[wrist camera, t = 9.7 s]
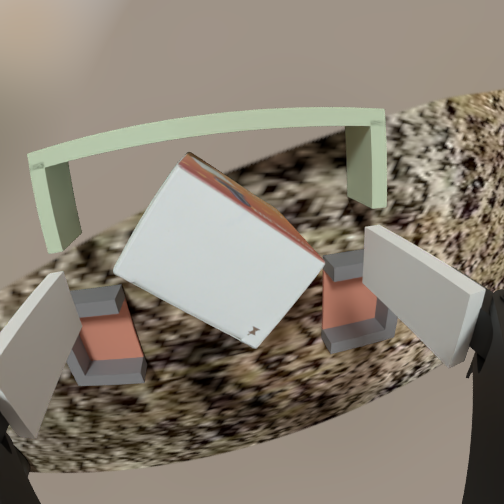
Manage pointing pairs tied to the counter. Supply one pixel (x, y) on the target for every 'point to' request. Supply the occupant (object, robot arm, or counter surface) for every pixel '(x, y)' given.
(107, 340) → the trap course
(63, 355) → the robot arm
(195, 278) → the small box
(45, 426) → the counter surface
